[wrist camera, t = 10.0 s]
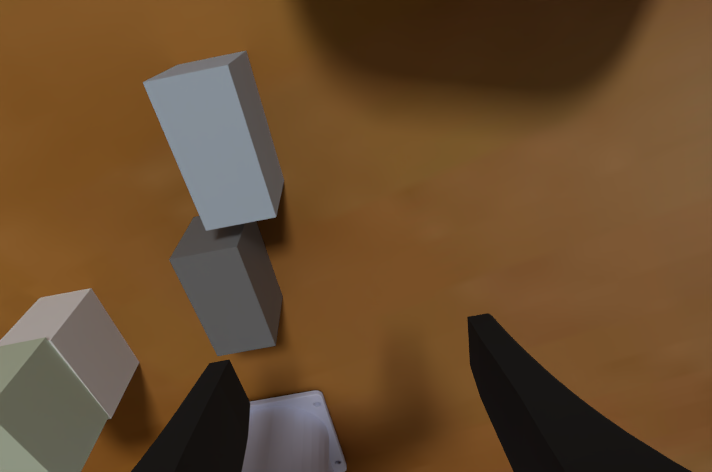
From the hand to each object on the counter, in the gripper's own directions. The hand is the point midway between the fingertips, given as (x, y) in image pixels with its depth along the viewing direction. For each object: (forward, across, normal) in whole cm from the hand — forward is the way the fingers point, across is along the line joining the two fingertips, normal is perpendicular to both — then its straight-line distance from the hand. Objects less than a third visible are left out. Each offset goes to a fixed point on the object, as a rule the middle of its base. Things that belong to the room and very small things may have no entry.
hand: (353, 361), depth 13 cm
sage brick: (+6, +16, +5) cm, 18 cm away
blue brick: (+11, +4, -5) cm, 12 cm away
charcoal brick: (+11, +6, +2) cm, 12 cm away
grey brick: (+10, +16, +5) cm, 20 cm away
